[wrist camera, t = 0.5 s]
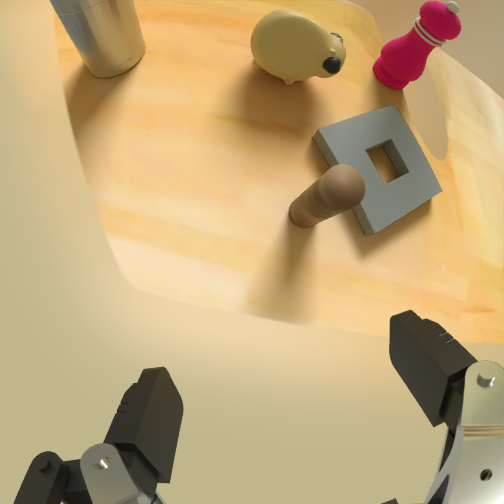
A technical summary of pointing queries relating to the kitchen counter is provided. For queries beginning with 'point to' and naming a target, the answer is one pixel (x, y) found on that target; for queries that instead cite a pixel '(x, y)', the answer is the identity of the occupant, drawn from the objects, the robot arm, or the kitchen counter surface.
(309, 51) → the beige animal figure
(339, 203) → the pin
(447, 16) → the pepper mill
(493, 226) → the kitchen counter surface
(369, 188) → the socket
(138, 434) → the robot arm
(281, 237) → the kitchen counter surface
